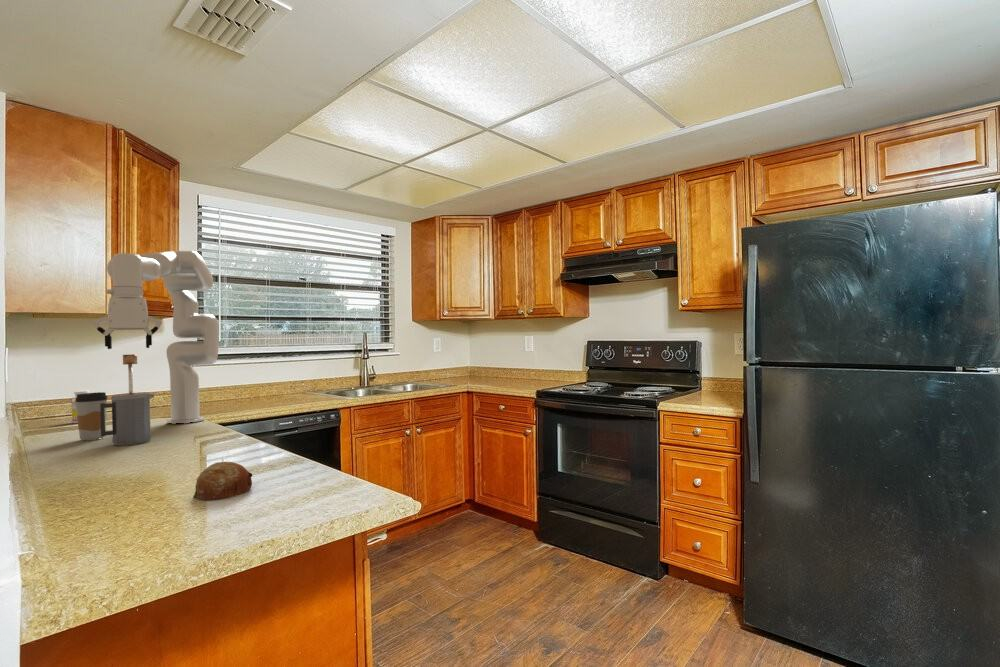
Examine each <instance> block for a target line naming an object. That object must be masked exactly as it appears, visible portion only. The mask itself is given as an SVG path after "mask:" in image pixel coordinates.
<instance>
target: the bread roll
mask: <svg viewBox="0 0 1000 667" xmlns="http://www.w3.org/2000/svg"><path fill="white" fill-rule="evenodd" d="M252 478H253V474H252V473H251V472H250V471H249V470H247V468H246V467H244V466H243V465H242V464H239V463H236V462H232V461H217V462H214V463H212V464H210V465H209V466H207V467H205V468H204V469H203V471H201V472H200V474H199V475H198V477H197V478H196V479H195V480H196V484H195V492H194V494H193V498H196V499H198V500H202V501H207V502H209V501H219V500H224V499H225V500H227V499H230V498H233V497H237V496H240V495H243V494H246V493H247V492H249V491H250V490H251V488H252V485H253V480H252Z"/></svg>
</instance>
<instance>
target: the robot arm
mask: <svg viewBox="0 0 1000 667" xmlns="http://www.w3.org/2000/svg"><path fill="white" fill-rule="evenodd" d="M106 269H107V270H106V271H107V274H108V276H109V277H110V278H111V279H112V288H110V289H106V293H107V294H109V295H111V296H110V297H109V299H108V304H107V305H108V306H107V315H106V316H103V317H102V318H99V319H96V320H94V321H93V322H92V324H93V326H94V327H95V328H96V330H97V331H98V332H99V333H101V334H102V335H103V336H104V347H107V350H111V349H112V348H113V346H112V344H113V342H112V341H113V339H112V336H111V334H112V333H113V332H114V331H126V330H128V331H129V330H130V331H132V330H133V331H135V330H138V331H139V330H141V331H142V330H143V331H144V332H145V333H146V336H145V348H147V349H149V348H150V346H152V345H153V342H152V340H153V337H152V336H153V335H154V334H155V333H156V332H158V330H159V329H160V327H161V325H162V324H163V321H161V320H159V319H156V318H154V317H152V316H150V315H149V310H148V302H147V299H146V297H144V288H143V287H144V283H143V282H145V281H147V282H150V281H155V280H157V279H159V278H162V282H163V285H164V286H165V288H166V290H167V292H168V294H169V295H170V298H171V299H172V302H173V313H172V314H173V316H172V332H173V335H174V336H175V337H177V338H179V339H203V340H184V341H183V340H181V341H175V342H172V343H169V345H168V346H167V348H166V351H165V352H166V359H167V362H168V368H169V378H170V379H169V381H170V384H169V386H170V387H169V388H170V415H171V416H170V417H171V418H169V419H167V420H166V424H167V423H172V424H171V425H177V424H176V423H184V424H191V423H190V422H193V423H198V422H202V421H204V420H205V417H204V416H202V415H201V413H200V412H201V410H200V384H199V383H200V382H199V380H200V378H199V374H198V373H197V371H196V370H195V369H194V368H193V366H201V365H202V366H206V365H213V364H215V363H216V362H217V361H218V358H219V342H220V341H219V340H220V338H219V335H220V325H219V321H218V319H217V317H216V316H215V315H213V314H209V313H203V314H202V313H200V314H199V307H200V306H199V301H198V300H197V299H196V297H195V296H194V295H193V294H192V293H191V292H193V291H194V292H196V291H197V292H198V291H199V292H202V291H209V290H210V289H211V288H212V287H213V285H214V278H213V275H212V272H211V270H210V269H209V267H208V265H207V263H206V261H205V259H204V258H203V257H202V255H200V254H199V253H198V252H197V251H194V250H165V251H160V252H159V251H158V252H152V253H144V254H143V253H142V254H135V253H128V252H120V253H115V254H113V256H112V258H111V259H109V261H108V263H107V266H106ZM105 322H107V329H105V328H104V327H102V325H101V324H103V323H105ZM149 322H152V323H154V324H155V325H154V327H152V329H149Z"/></svg>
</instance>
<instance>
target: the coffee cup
mask: <svg viewBox="0 0 1000 667" xmlns="http://www.w3.org/2000/svg"><path fill="white" fill-rule="evenodd" d="M107 400H108V395H106V392H89V393H84V394H77V398H76V400H75V402H76V407H77V420H78V423H77V426H78V428H77V429H78V433H79V434H78V435H79V439H80V441H81V440H91V441H94V440H93V439H98V440H100V439H99V438H103V437H101V415H100V403H108V402H107ZM105 410H106V411H107V408H105ZM103 439H104V438H103Z"/></svg>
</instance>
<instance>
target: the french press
mask: <svg viewBox="0 0 1000 667" xmlns="http://www.w3.org/2000/svg"><path fill="white" fill-rule="evenodd" d="M153 398H155V393H150V391H148V392H145V391H144V392H143V391H141V392H140V391H138V392H133V394H129V392H128V393H127V392H126V393H118V394H116V393H115V394H112V395H111V402H107V403H100V415H101V437H104V438H105V437H107V436H112V443H113V444H112V445H113V446H114V445H128V446H134V444H136V445H142V444H146V443H145V442H147V443H149V442H150V441H151V435H152V434H151V407H150V406H151V404H150V403H151V401H150V399H153ZM105 408H106V410H105ZM108 408H111V419H112V420H111V424H112V425H111V426H112V429H111V430H107V409H108ZM148 441H149V442H148ZM141 443H142V444H141Z"/></svg>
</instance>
